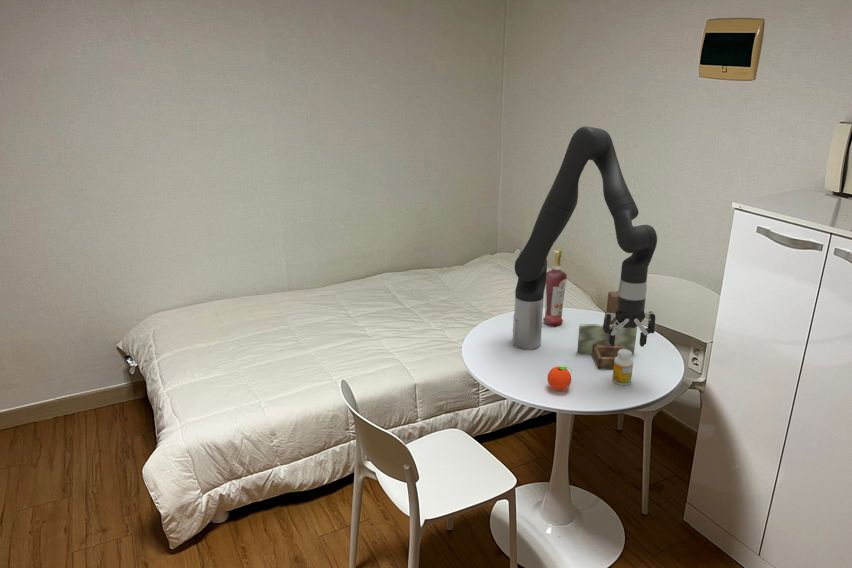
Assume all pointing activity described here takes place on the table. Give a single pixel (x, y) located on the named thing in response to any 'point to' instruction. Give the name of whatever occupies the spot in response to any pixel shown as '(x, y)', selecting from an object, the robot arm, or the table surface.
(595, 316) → the table surface
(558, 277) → the liquor
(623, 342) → the board
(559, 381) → the clementine
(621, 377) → the supplement bottle
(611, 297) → the wooden block
